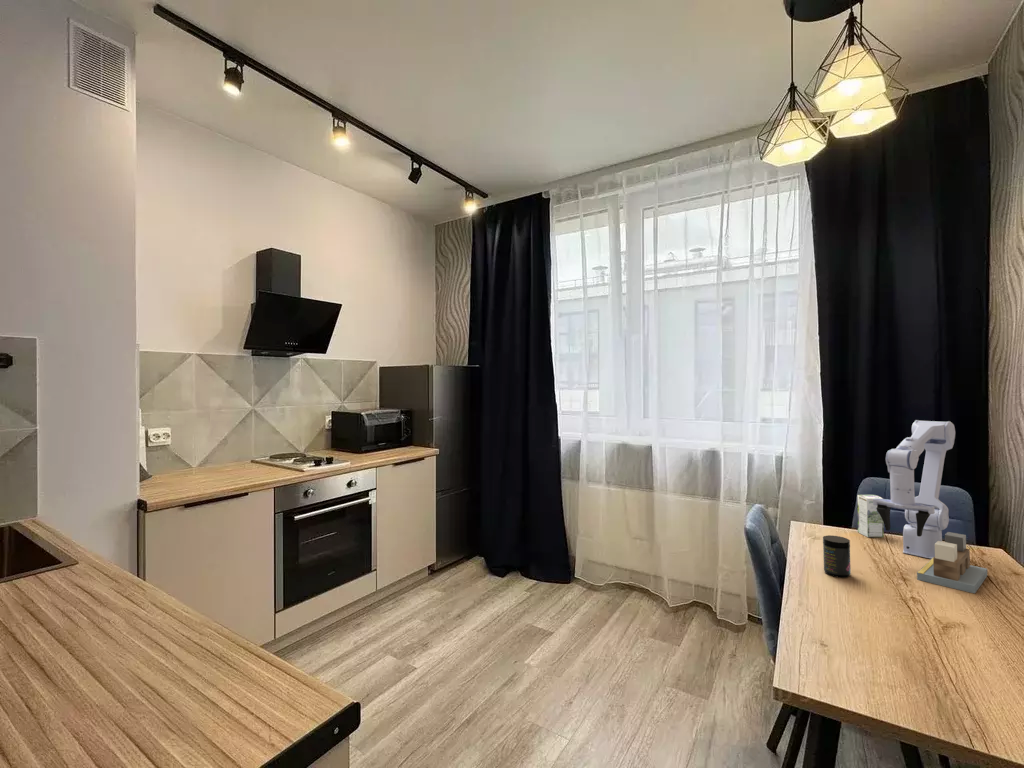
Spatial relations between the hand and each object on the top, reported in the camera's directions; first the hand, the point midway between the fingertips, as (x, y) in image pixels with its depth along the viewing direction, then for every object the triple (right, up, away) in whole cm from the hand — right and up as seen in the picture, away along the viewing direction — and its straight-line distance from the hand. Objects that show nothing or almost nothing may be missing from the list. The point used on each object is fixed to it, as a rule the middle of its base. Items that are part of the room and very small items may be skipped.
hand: (903, 532), depth 145 cm
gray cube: (+11, -3, -5) cm, 13 cm away
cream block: (+2, -3, -12) cm, 13 cm away
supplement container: (-23, -11, -4) cm, 26 cm away
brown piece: (+7, -8, -9) cm, 14 cm away
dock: (+7, -10, -9) cm, 15 cm away
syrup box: (+12, -10, +29) cm, 33 cm away
